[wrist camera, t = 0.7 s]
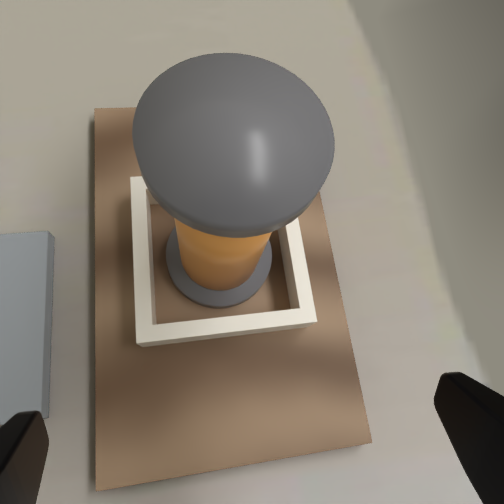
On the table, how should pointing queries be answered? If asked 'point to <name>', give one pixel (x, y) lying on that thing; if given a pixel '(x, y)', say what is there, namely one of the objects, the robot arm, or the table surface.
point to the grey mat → (25, 322)
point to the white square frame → (218, 327)
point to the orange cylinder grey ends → (229, 167)
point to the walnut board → (209, 352)
